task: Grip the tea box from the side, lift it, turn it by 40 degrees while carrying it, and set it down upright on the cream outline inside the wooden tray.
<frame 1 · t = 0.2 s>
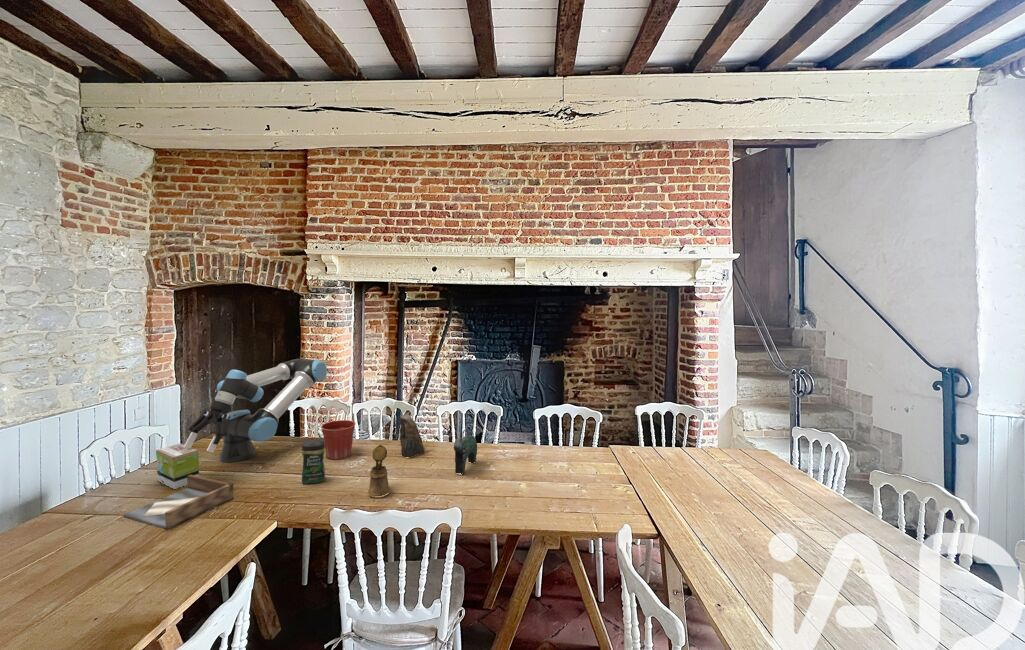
hand: (198, 449, 189), 16 cm above the table, tool tilted 35°, fingers open, 13 cm apart
flower pot: (338, 455, 227), on the table
wooden tray: (181, 506, 172), on the table
ceramic cat: (465, 468, 214), on the table
owl: (411, 453, 232), on the table
brown bell: (379, 491, 189), on the table
coffee jar: (313, 481, 197), on the table
tea box: (178, 482, 193), on the table, touching gripper
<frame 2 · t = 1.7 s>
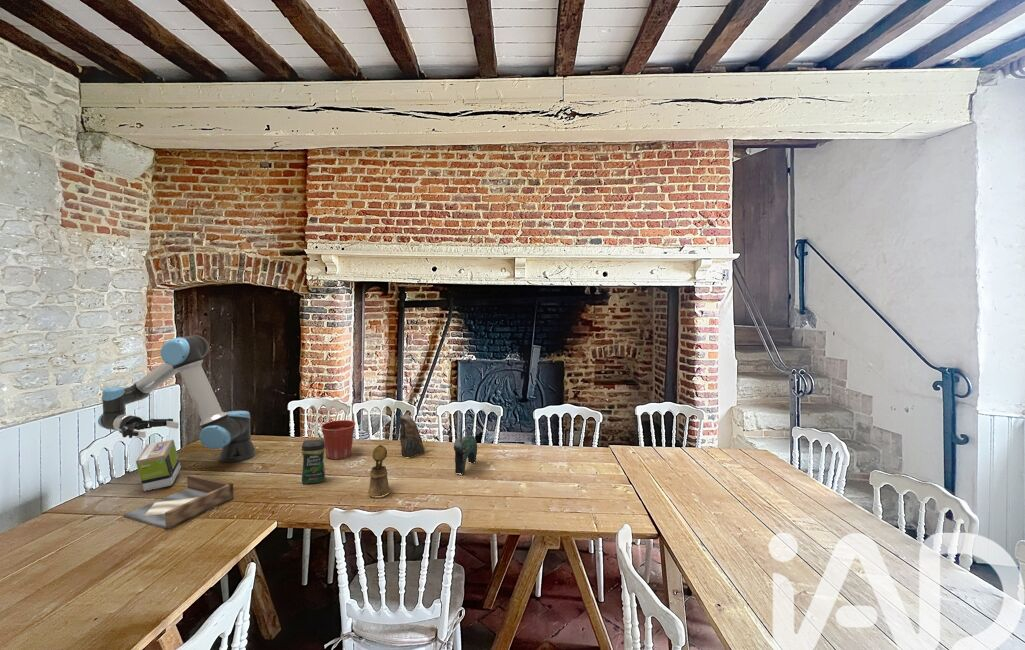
hand: (161, 430, 194), 22 cm above the table, tool horizontal, fingers open, 13 cm apart
tea box: (163, 479, 192), point 1 cm above the table
everything else where it was.
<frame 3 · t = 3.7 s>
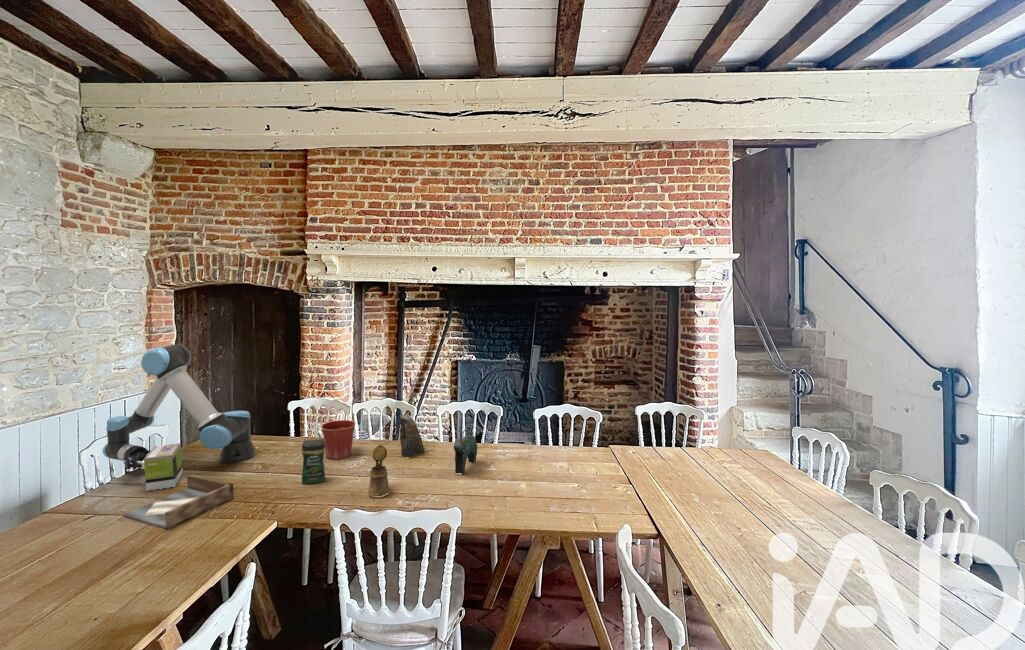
hand: (165, 460, 195), 8 cm above the table, tool horizontal, fingers open, 13 cm apart
tea box: (165, 483, 192), on the table
everything else where it was.
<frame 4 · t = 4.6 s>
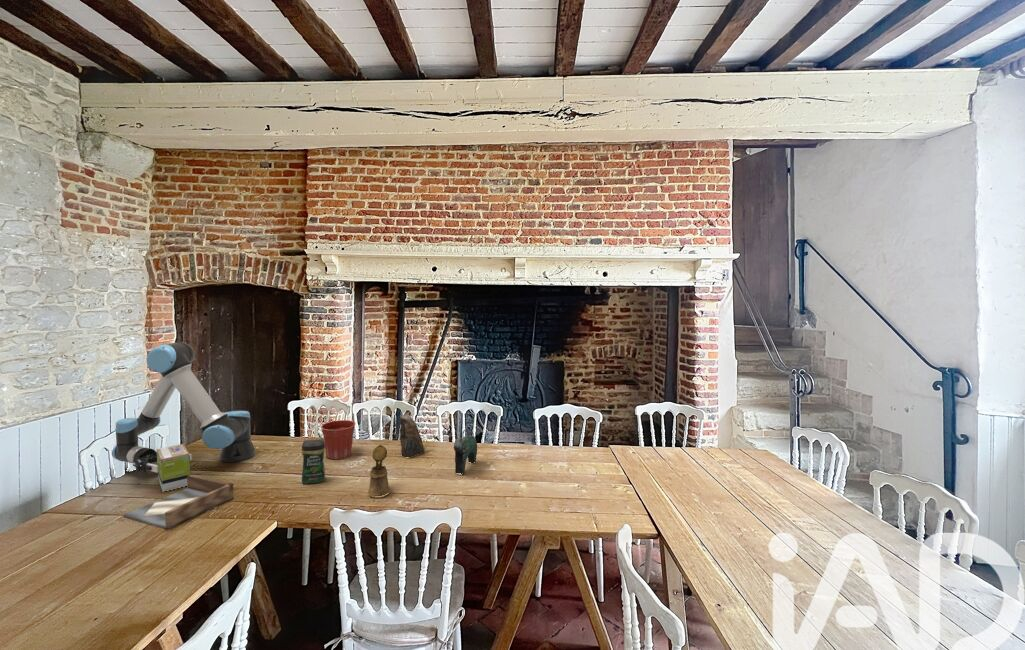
hand: (175, 463, 193), 8 cm above the table, tool horizontal, fingers open, 13 cm apart
tea box: (174, 483, 191), on the table, touching gripper
everything else where it was.
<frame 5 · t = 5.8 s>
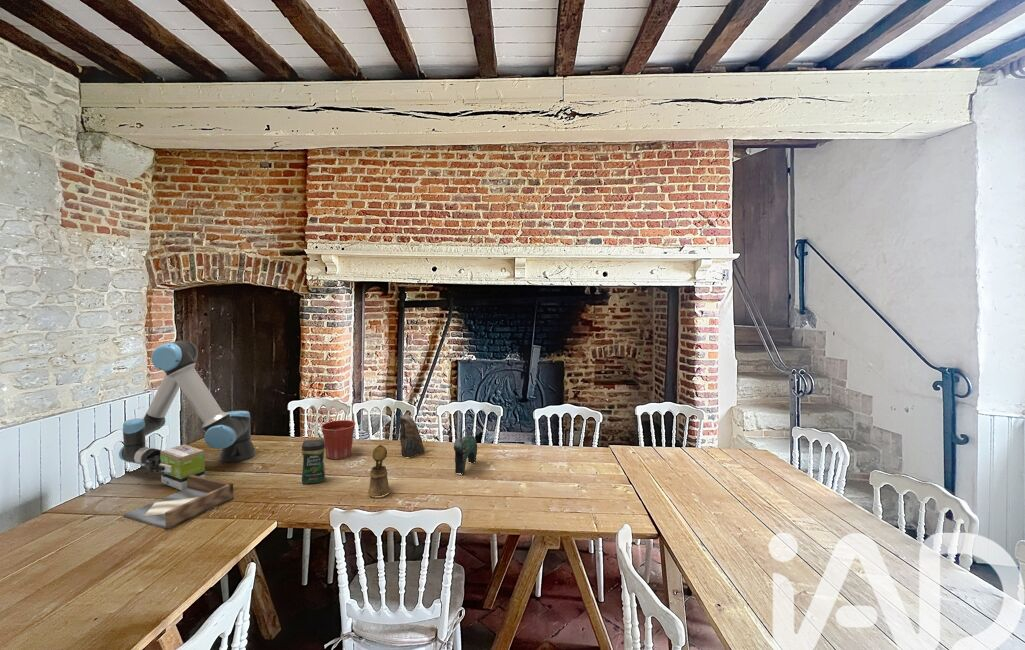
hand: (184, 464, 191), 8 cm above the table, tool horizontal, fingers closed on tea box, 10 cm apart
tea box: (183, 483, 192), on the table, touching gripper
everything else where it was.
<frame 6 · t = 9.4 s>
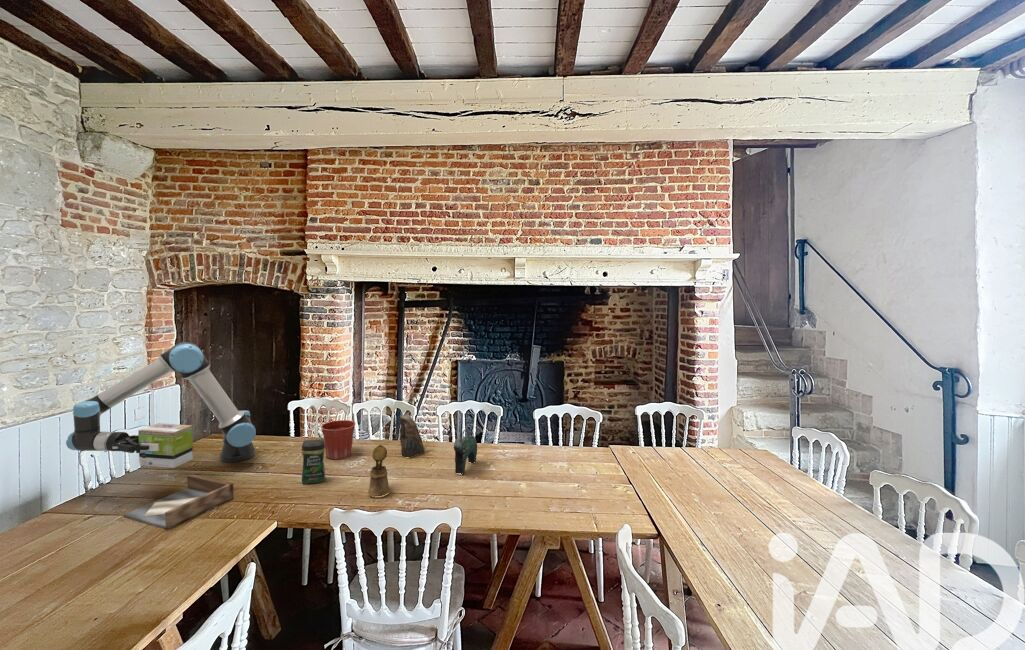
hand: (169, 442, 179), 22 cm above the table, tool horizontal, fingers closed on tea box, 10 cm apart
tea box: (166, 463, 179), point 14 cm above the table, touching gripper
everything else where it was.
when the fingers open (10 cm above the table, at t = 13.0 s): tea box drops 1 cm, resting on wooden tray.
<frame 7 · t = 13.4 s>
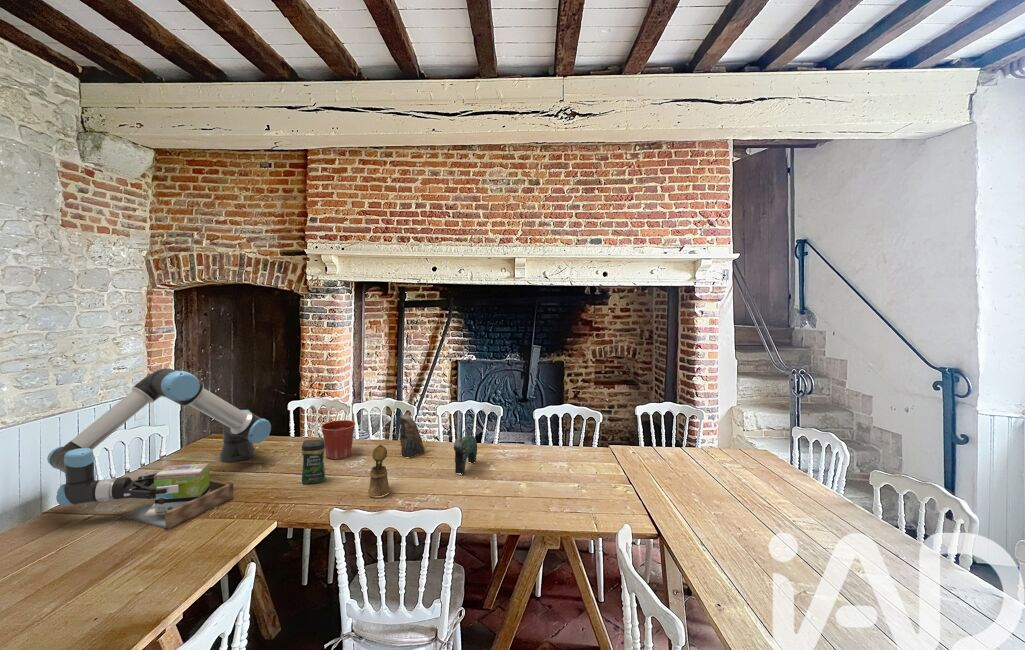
hand: (184, 480, 171), 10 cm above the table, tool horizontal, fingers open, 13 cm apart
tea box: (183, 505, 171), point 1 cm above the table, touching wooden tray
everything else where it was.
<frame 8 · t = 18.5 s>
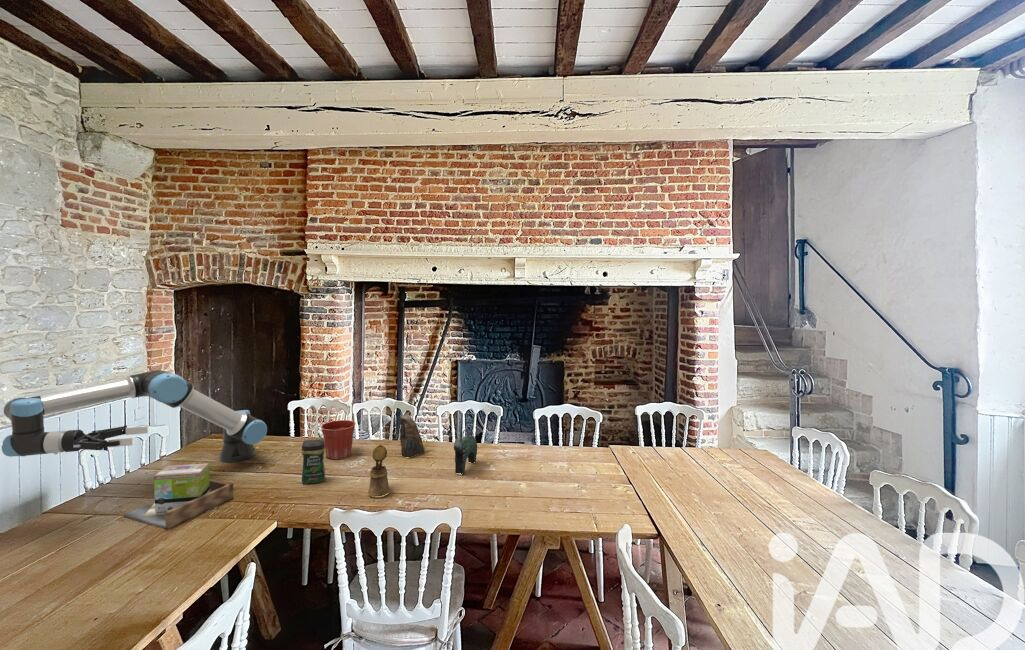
hand: (140, 435, 165), 30 cm above the table, tool horizontal, fingers open, 13 cm apart
nothing on the table moved.
at the end: tea box inside the target area on the wooden tray (3.0 cm from its centre), point 0.7 cm above the wooden tray's base; tea box tilted 0°; the gripper is holding nothing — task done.
